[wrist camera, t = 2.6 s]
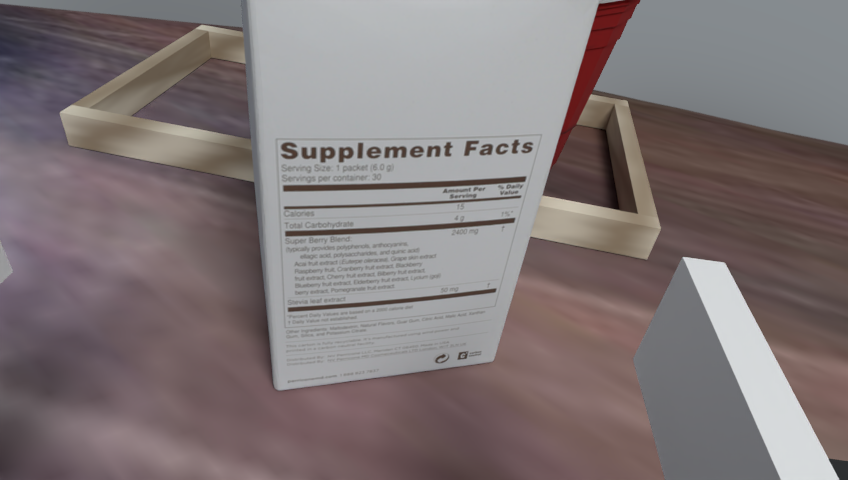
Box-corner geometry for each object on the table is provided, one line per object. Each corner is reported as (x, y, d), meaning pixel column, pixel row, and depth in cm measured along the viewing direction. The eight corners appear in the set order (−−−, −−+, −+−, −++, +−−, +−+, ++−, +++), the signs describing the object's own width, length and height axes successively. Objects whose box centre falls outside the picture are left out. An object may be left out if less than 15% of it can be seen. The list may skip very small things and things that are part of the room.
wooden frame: (69, 145, 32) (54, 95, 30) (206, 49, 45) (202, 10, 43) (646, 259, 30) (668, 212, 28) (617, 124, 43) (631, 86, 41)
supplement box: (260, 242, 28) (233, -125, 18) (440, 231, 30) (494, -100, 21) (267, 398, 21) (230, -61, 12) (499, 368, 23) (619, -33, 14)
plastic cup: (398, 122, 39) (417, -76, 32) (539, 115, 43) (585, -65, 35) (456, 215, 31) (499, -20, 24) (623, 197, 35) (705, -13, 27)
